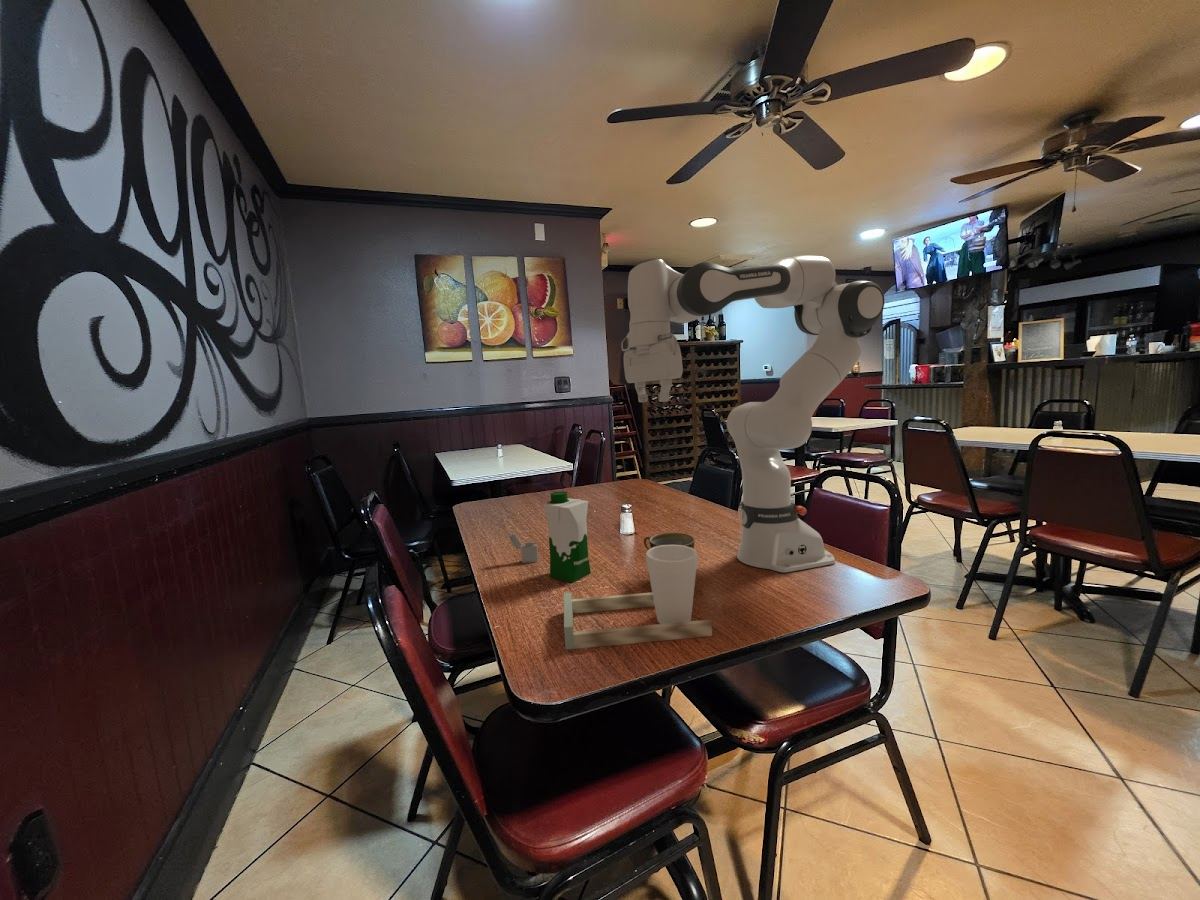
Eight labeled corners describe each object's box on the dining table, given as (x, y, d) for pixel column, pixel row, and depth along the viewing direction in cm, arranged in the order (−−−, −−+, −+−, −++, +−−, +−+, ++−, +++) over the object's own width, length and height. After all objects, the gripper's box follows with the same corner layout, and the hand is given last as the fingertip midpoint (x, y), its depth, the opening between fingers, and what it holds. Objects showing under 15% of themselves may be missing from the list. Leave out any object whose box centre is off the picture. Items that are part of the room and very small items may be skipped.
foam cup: (665, 637, 81) (662, 565, 79) (640, 615, 89) (637, 550, 88) (709, 623, 84) (708, 555, 83) (681, 604, 93) (679, 541, 91)
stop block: (572, 611, 92) (571, 592, 92) (574, 648, 78) (573, 626, 78) (565, 611, 92) (563, 592, 92) (565, 649, 78) (564, 627, 78)
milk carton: (568, 565, 117) (563, 488, 115) (596, 572, 112) (592, 491, 109) (544, 577, 110) (538, 496, 108) (573, 585, 105) (567, 499, 102)
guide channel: (689, 600, 94) (689, 589, 94) (711, 635, 80) (711, 622, 80) (572, 611, 92) (571, 599, 92) (574, 648, 78) (573, 634, 78)
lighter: (538, 559, 123) (536, 530, 122) (537, 561, 121) (535, 532, 120) (511, 561, 123) (509, 532, 122) (510, 564, 121) (508, 534, 120)
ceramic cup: (704, 580, 104) (703, 537, 102) (678, 595, 97) (677, 549, 95) (658, 567, 113) (657, 528, 112) (632, 580, 106) (630, 538, 105)
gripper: (688, 331, 92) (691, 400, 94) (641, 343, 111) (644, 401, 112) (661, 331, 90) (664, 402, 91) (617, 344, 108) (621, 403, 110)
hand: (653, 401), depth 102 cm, fingers open, 8 cm apart
